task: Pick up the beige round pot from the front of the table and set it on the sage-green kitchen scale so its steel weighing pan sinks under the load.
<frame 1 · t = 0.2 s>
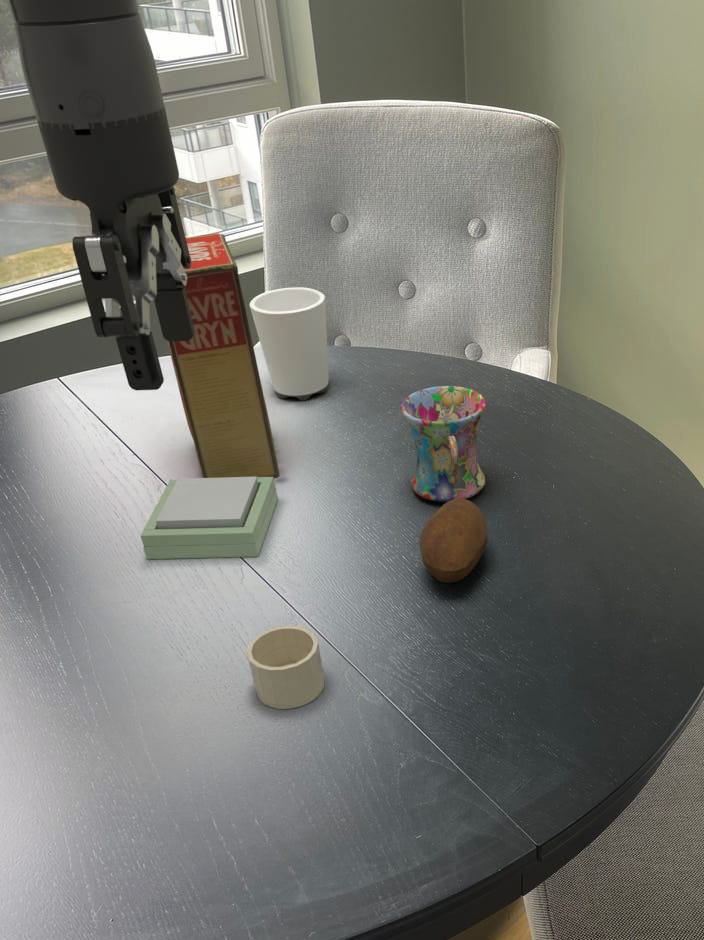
hand: (164, 362, 69), 30 cm above the table, tool pointing down, fingers open, 8 cm apart
food packaging: (236, 461, 120), on the table
potato: (455, 569, 100), on the table
mug: (450, 496, 111), on the table
scale: (215, 528, 108), on the table
cup: (302, 391, 136), on the table
beige round pot: (290, 686, 86), on the table
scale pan: (209, 503, 106), point 3 cm above the table, slide at 0.0 cm
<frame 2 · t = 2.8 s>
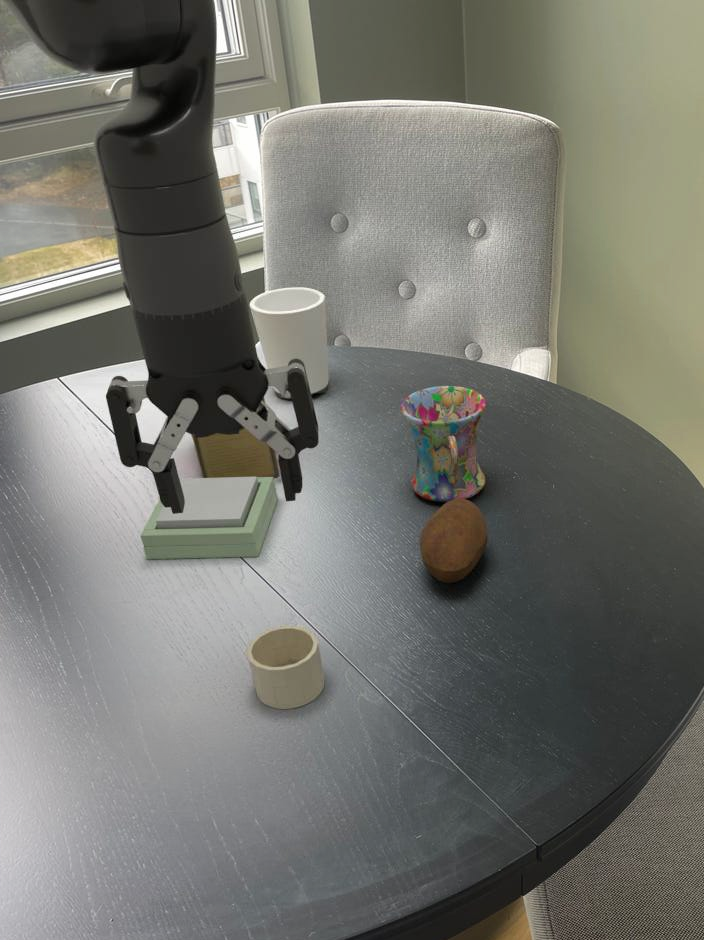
hand: (235, 502, 74), 19 cm above the table, tool pointing down, fingers open, 8 cm apart
nothing on the table moved.
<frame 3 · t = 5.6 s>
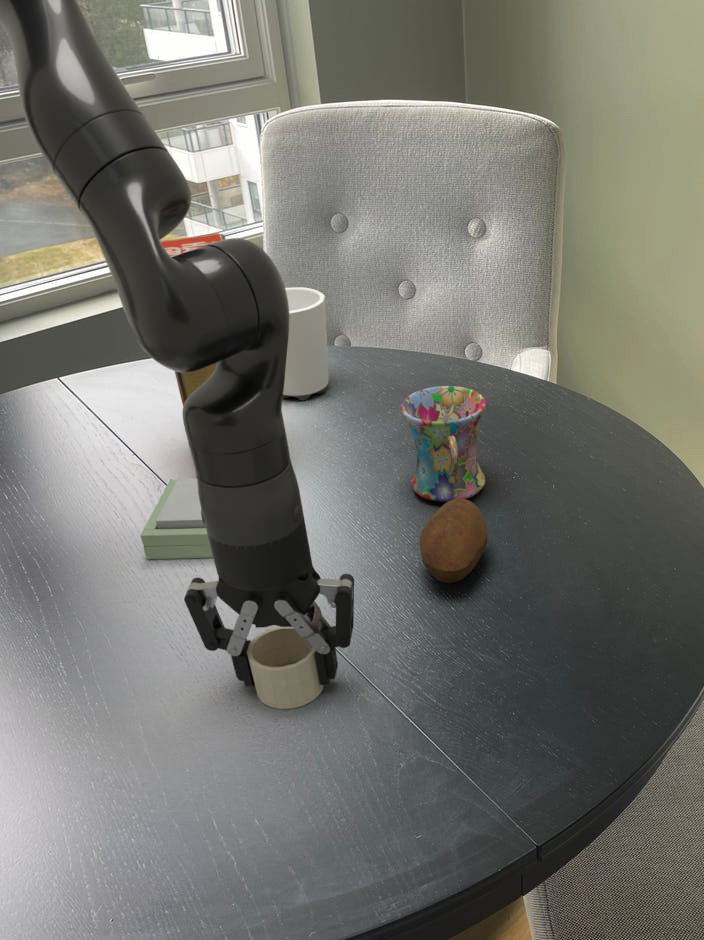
hand: (289, 679, 85), 1 cm above the table, tool pointing down, fingers closed on beige round pot, 6 cm apart
beige round pot: (290, 686, 86), on the table, touching gripper
everything else where it was.
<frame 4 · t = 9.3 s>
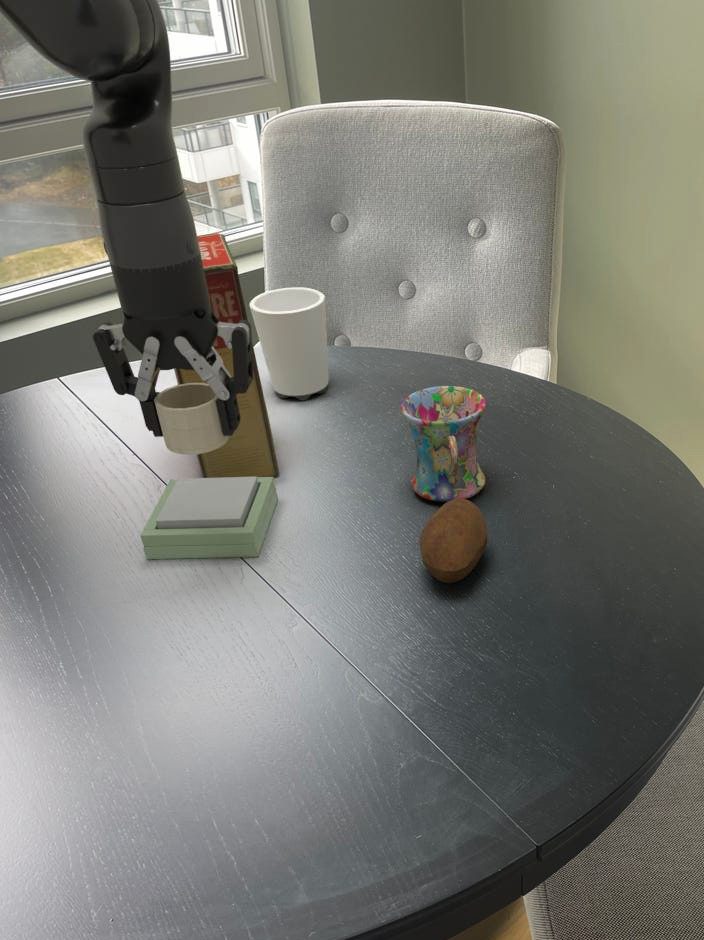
hand: (195, 432, 92), 15 cm above the table, tool pointing down, fingers closed on beige round pot, 6 cm apart
beige round pot: (197, 440, 93), point 14 cm above the table, touching gripper
everything else where it was.
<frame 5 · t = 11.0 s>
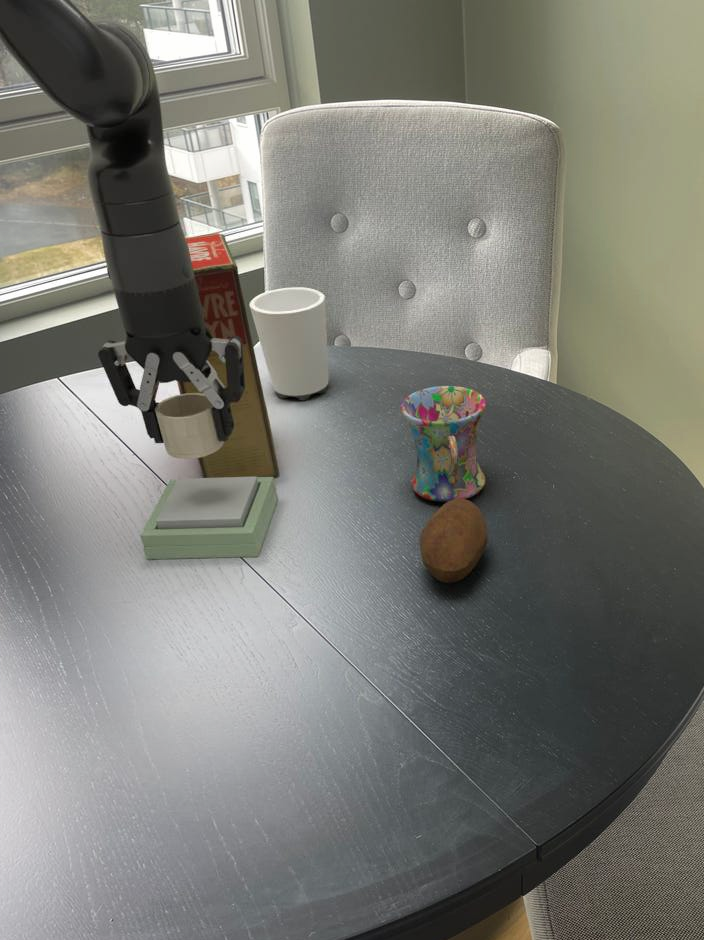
hand: (193, 438, 101), 11 cm above the table, tool pointing down, fingers closed on beige round pot, 6 cm apart
beige round pot: (195, 445, 101), point 10 cm above the table, touching gripper
everything else where it was.
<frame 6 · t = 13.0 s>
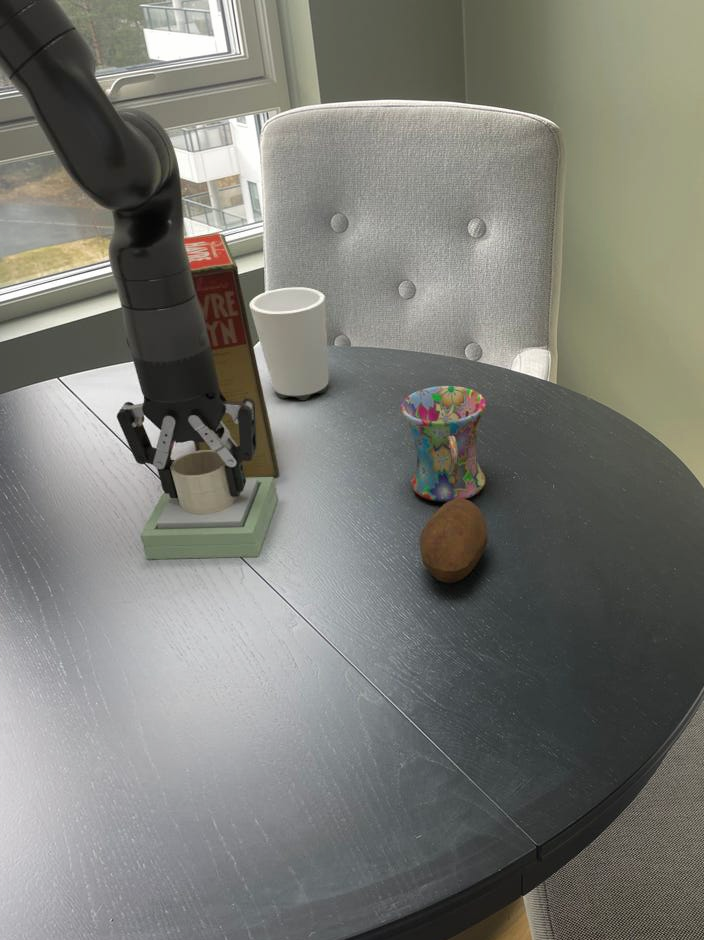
hand: (206, 493, 105), 4 cm above the table, tool pointing down, fingers closed on beige round pot, 6 cm apart
beige round pot: (208, 500, 105), point 4 cm above the table, touching gripper, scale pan
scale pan: (209, 505, 106), point 3 cm above the table, slide at -0.3 cm, touching beige round pot
everything else where it was.
when the fingers open (4 cm above the table, at t = 13.1 s): beige round pot stays where it is, resting on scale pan.
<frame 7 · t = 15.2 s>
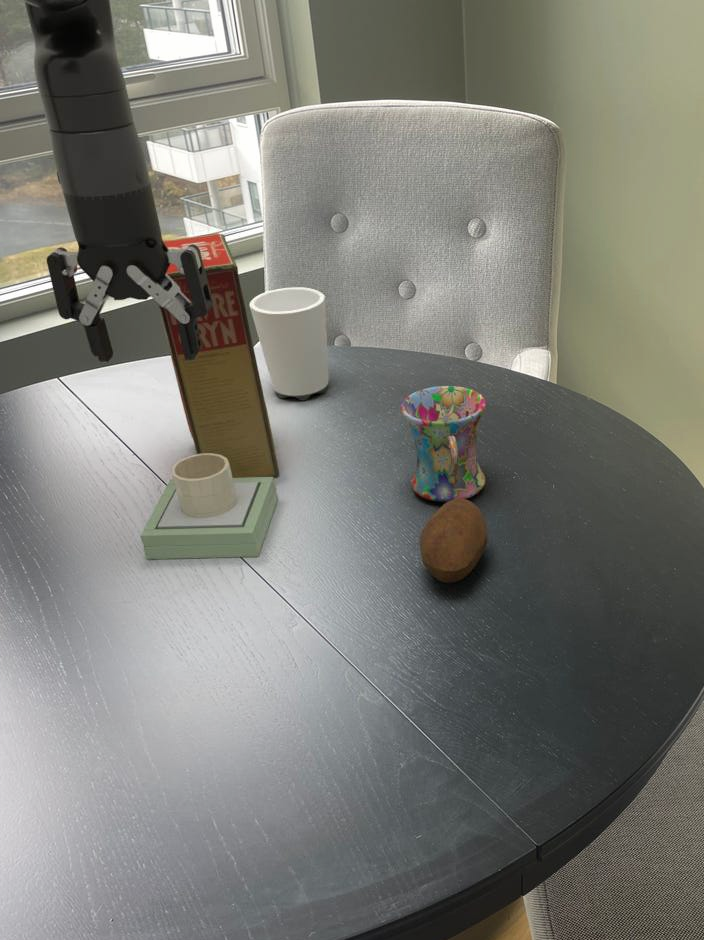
hand: (149, 358, 96), 20 cm above the table, tool pointing down, fingers open, 8 cm apart
beige round pot: (209, 503, 106), point 3 cm above the table, touching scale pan
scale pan: (210, 508, 106), point 2 cm above the table, slide at -0.7 cm, touching beige round pot
everything else where it was.
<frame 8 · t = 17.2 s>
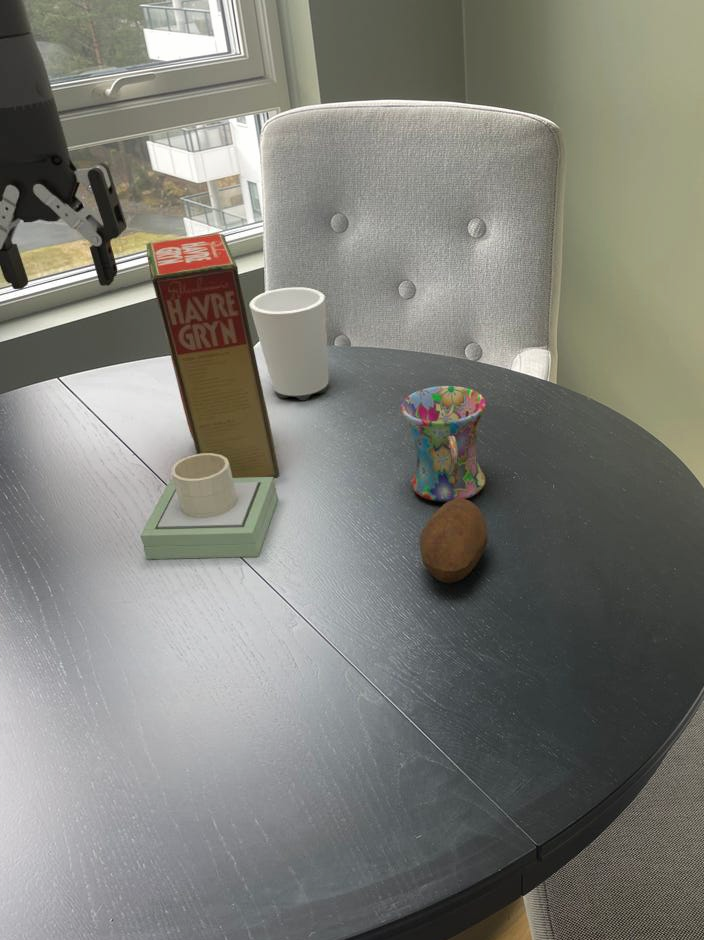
hand: (64, 285, 94), 26 cm above the table, tool pointing down, fingers open, 8 cm apart
nothing on the table moved.
at the end: beige round pot 0.0 cm off-centre on the scale, point 3.2 cm above the scale's base; beige round pot tilted 0°; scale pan slide at -0.7 cm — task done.
